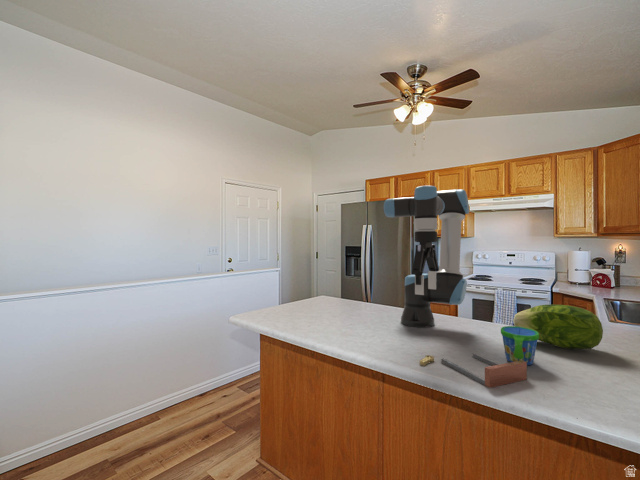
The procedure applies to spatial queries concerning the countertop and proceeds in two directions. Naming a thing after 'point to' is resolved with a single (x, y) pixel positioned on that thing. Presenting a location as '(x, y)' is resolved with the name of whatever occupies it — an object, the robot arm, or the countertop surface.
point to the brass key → (427, 360)
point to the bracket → (495, 371)
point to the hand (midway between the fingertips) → (426, 291)
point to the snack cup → (519, 343)
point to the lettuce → (562, 325)
